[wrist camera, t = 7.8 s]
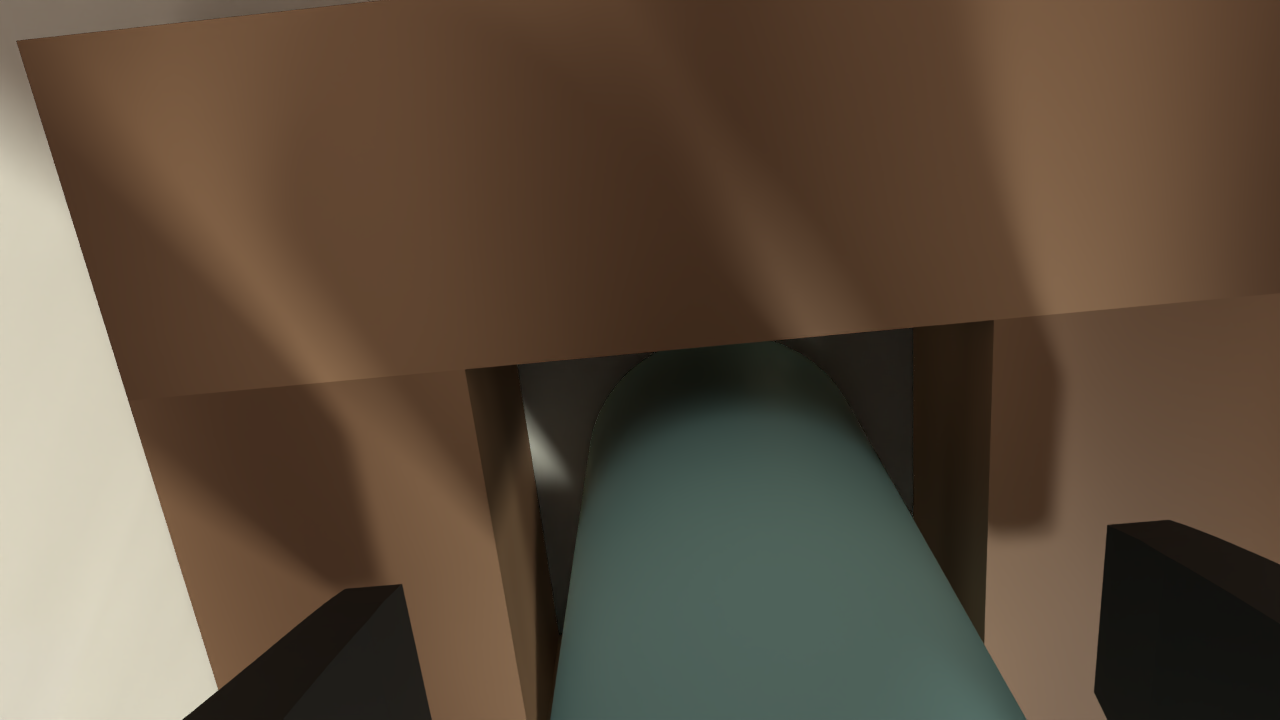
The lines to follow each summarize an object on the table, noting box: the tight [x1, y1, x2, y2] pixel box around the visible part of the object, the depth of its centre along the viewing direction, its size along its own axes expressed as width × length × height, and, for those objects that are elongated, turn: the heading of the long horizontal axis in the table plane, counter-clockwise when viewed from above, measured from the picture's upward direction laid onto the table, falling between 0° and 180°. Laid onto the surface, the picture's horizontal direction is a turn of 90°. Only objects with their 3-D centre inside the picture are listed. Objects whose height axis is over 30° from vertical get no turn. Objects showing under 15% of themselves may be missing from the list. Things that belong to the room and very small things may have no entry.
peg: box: [550, 341, 1027, 720], centre depth 9 cm, size 4×4×8 cm
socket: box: [17, 0, 1280, 720], centre depth 12 cm, size 13×13×3 cm
